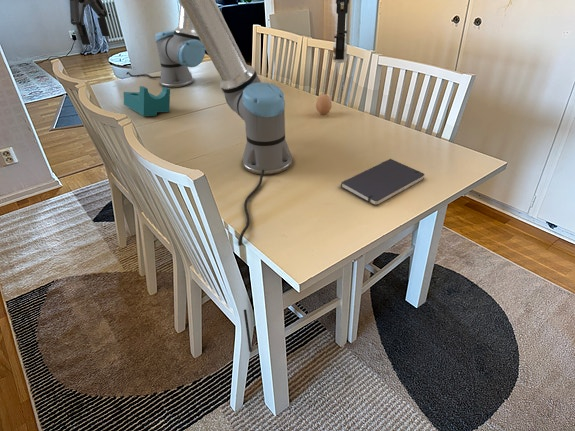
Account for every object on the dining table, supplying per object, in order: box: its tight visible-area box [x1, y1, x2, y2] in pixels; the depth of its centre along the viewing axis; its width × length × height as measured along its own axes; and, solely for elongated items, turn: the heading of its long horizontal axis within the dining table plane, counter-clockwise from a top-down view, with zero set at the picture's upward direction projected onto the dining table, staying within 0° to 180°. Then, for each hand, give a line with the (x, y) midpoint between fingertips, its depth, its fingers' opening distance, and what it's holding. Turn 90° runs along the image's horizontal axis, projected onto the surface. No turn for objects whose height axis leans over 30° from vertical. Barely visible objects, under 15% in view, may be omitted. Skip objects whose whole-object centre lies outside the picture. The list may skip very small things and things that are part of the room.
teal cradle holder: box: [123, 85, 171, 117], centre depth 163 cm, size 18×11×10 cm, turn 43°
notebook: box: [340, 158, 425, 206], centre depth 114 cm, size 13×2×21 cm
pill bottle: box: [332, 35, 348, 64], centre depth 131 cm, size 4×4×8 cm
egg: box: [315, 93, 333, 116], centre depth 155 cm, size 6×6×8 cm
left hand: (96, 40), depth 151 cm, fingers open, 13 cm apart
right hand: (339, 57), depth 132 cm, fingers closed on pill bottle, 4 cm apart
